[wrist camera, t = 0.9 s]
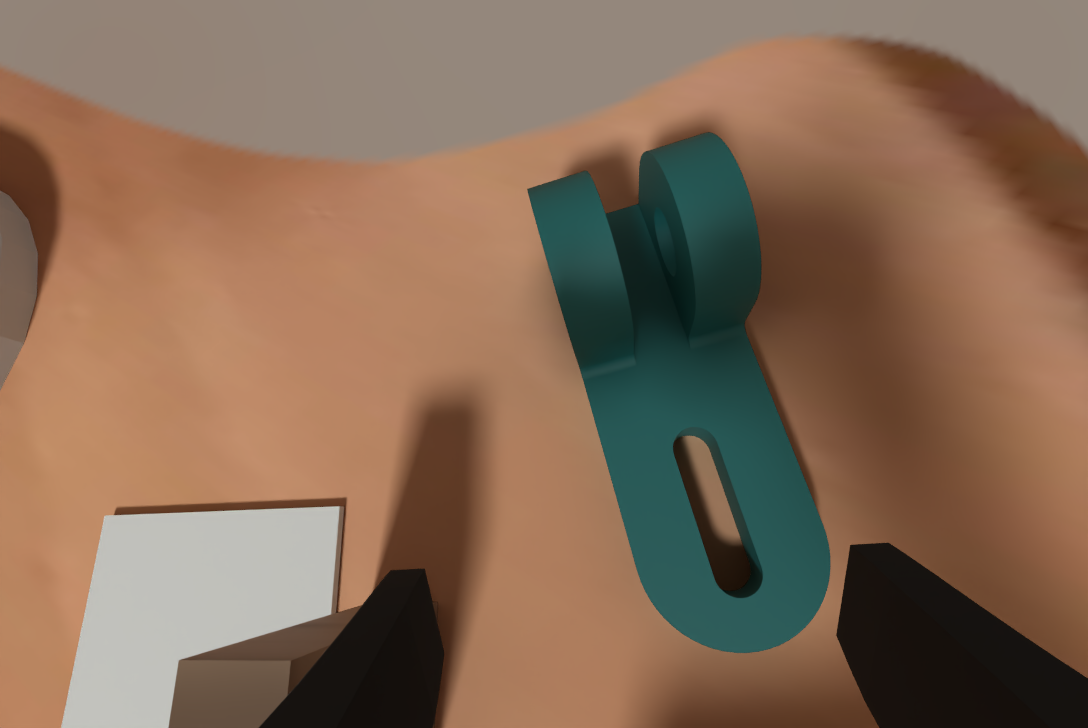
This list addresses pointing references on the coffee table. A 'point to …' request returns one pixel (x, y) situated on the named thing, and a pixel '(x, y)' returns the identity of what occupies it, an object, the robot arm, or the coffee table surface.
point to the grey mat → (192, 600)
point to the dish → (15, 281)
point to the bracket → (686, 387)
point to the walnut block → (251, 674)
